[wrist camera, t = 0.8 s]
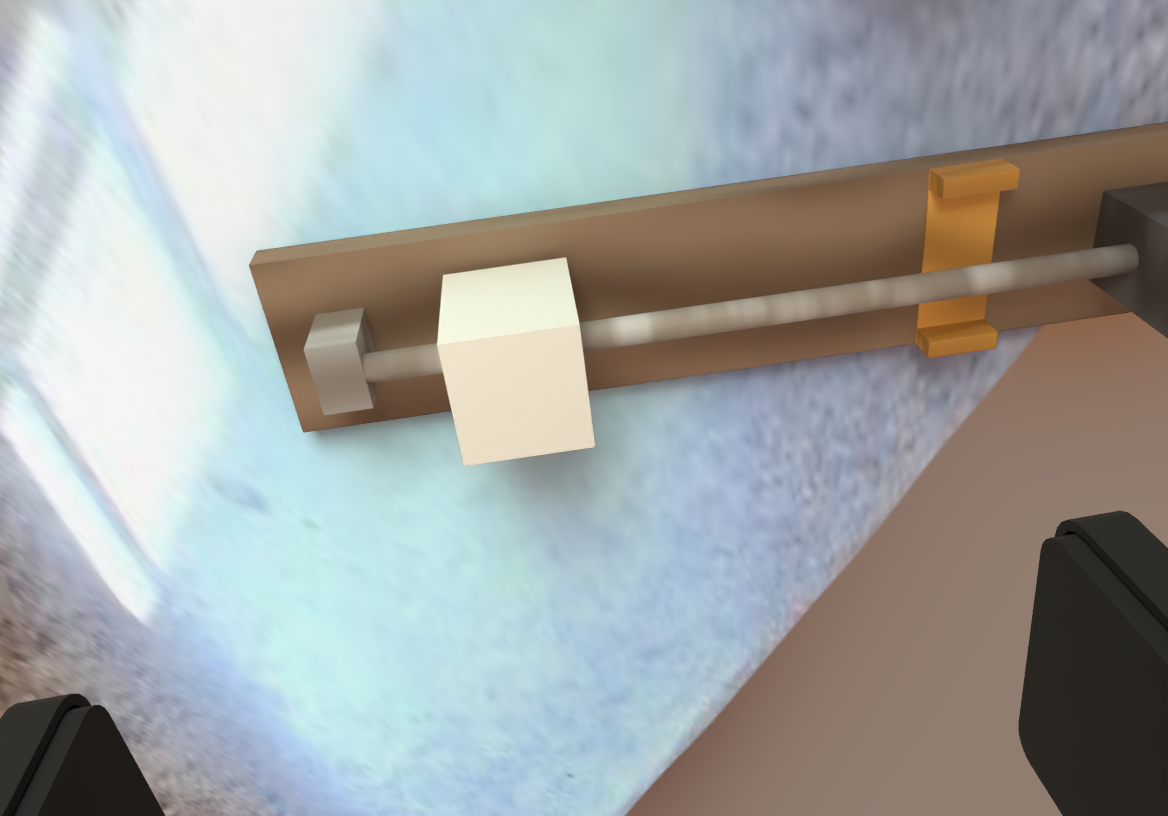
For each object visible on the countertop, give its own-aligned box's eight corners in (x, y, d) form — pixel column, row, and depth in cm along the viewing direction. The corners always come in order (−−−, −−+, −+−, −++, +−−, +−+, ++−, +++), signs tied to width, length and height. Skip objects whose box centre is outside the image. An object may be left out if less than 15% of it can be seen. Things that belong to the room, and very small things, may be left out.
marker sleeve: (442, 274, 38) (436, 344, 33) (565, 257, 38) (579, 324, 33) (466, 385, 41) (463, 466, 35) (580, 368, 41) (595, 446, 36)
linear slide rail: (256, 250, 39) (212, 333, 32) (1208, 116, 39) (1348, 171, 33) (308, 414, 43) (278, 516, 36) (1167, 290, 44) (1285, 368, 37)
